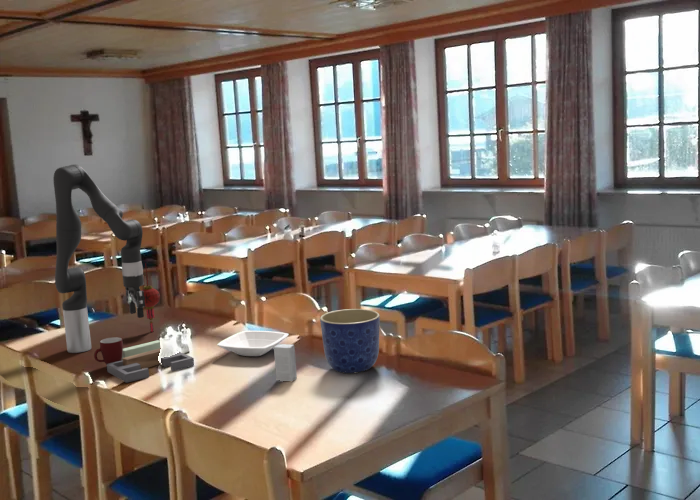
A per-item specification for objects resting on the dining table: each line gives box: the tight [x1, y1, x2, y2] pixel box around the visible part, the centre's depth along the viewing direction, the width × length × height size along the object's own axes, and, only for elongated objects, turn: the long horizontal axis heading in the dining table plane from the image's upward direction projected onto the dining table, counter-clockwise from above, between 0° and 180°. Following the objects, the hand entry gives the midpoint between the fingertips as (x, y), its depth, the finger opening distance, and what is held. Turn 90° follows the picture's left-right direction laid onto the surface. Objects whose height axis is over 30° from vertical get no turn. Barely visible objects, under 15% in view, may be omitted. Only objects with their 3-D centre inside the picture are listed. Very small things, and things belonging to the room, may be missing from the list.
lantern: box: [140, 263, 161, 333], centre depth 350 cm, size 10×10×30 cm
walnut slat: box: [123, 348, 161, 369], centre depth 302 cm, size 4×16×5 cm, turn 134°
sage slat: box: [122, 339, 161, 360], centre depth 314 cm, size 4×16×5 cm, turn 132°
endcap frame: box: [106, 351, 195, 384], centre depth 299 cm, size 18×26×3 cm
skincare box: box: [273, 343, 298, 382], centre depth 277 cm, size 6×4×12 cm
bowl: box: [217, 330, 289, 357], centre depth 311 cm, size 22×23×6 cm
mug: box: [93, 336, 124, 366], centre depth 303 cm, size 11×8×10 cm
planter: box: [319, 308, 381, 374], centre depth 285 cm, size 21×21×19 cm
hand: (136, 315), depth 310 cm, fingers open, 8 cm apart
